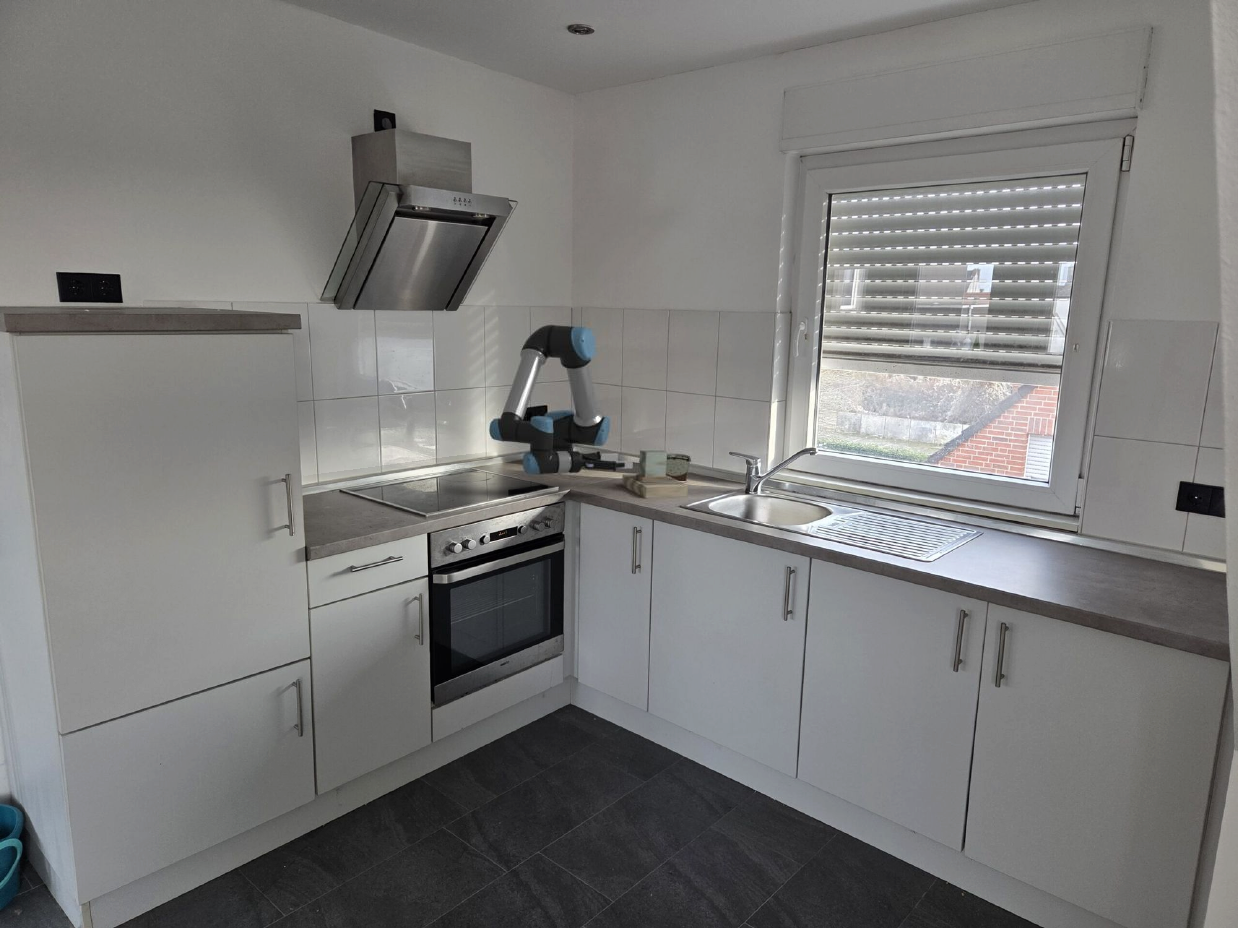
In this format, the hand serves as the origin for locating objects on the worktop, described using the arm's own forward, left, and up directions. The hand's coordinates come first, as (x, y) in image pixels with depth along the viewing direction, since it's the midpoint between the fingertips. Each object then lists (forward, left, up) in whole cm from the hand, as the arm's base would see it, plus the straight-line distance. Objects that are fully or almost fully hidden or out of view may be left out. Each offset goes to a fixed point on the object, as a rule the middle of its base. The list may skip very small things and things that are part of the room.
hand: (624, 460), depth 288 cm
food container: (-16, +28, -12) cm, 35 cm away
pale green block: (0, +11, -7) cm, 13 cm away
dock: (0, +12, -11) cm, 17 cm away
